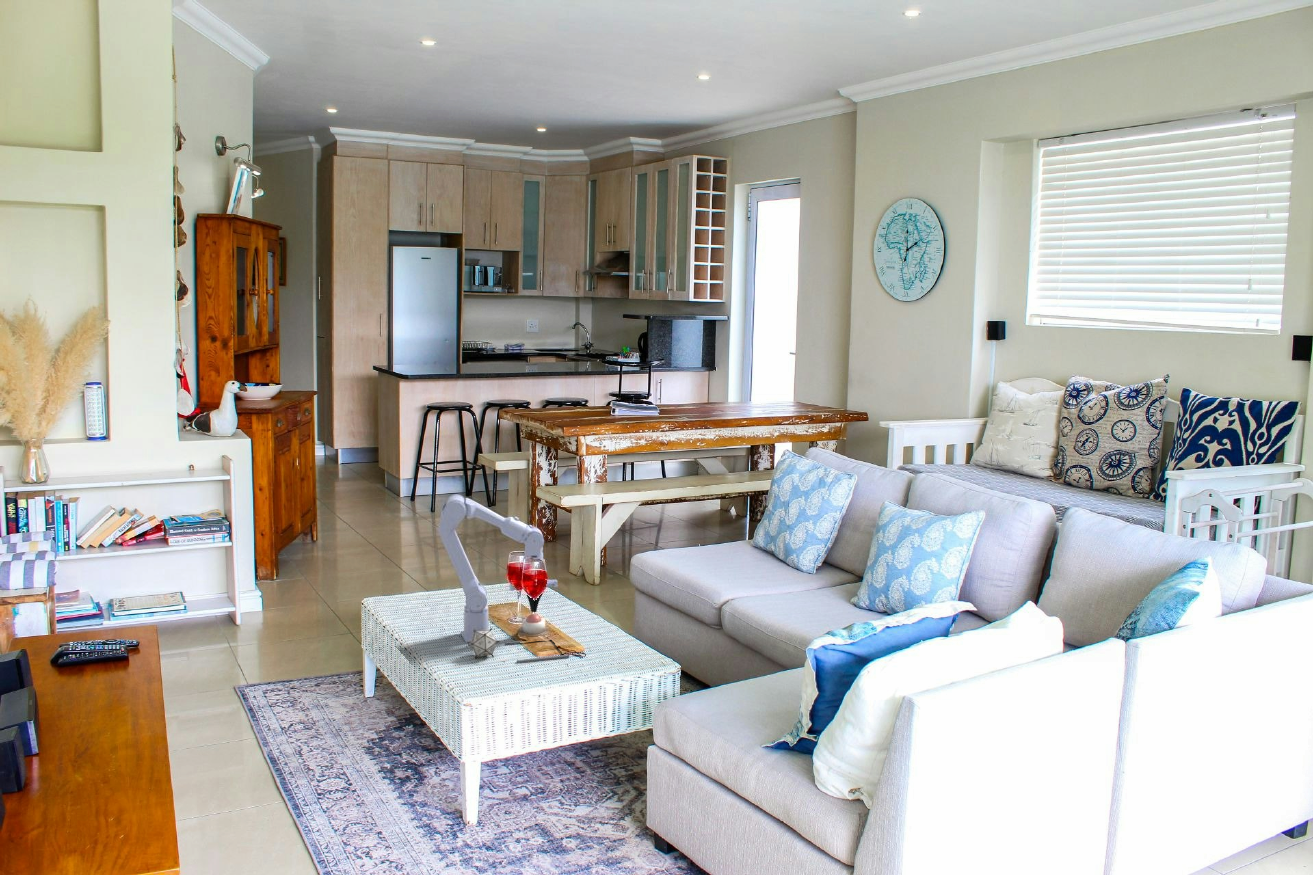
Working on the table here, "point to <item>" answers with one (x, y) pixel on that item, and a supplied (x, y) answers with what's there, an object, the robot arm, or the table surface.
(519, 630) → the dome base
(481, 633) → the game die
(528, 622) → the dome
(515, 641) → the frame
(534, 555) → the robot arm
